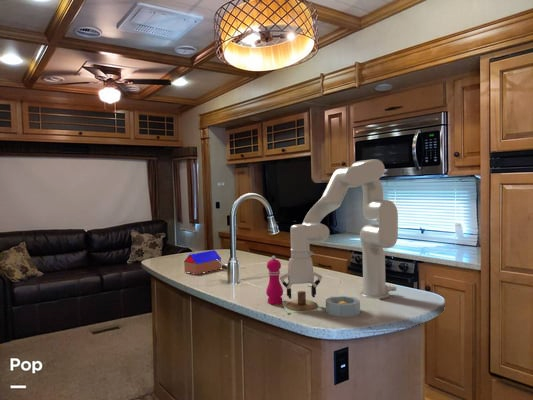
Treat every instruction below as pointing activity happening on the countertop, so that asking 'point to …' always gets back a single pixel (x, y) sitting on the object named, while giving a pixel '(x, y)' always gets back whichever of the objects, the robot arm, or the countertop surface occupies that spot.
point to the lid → (301, 303)
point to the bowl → (342, 306)
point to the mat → (299, 311)
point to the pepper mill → (274, 282)
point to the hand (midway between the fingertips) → (301, 297)
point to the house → (202, 262)
